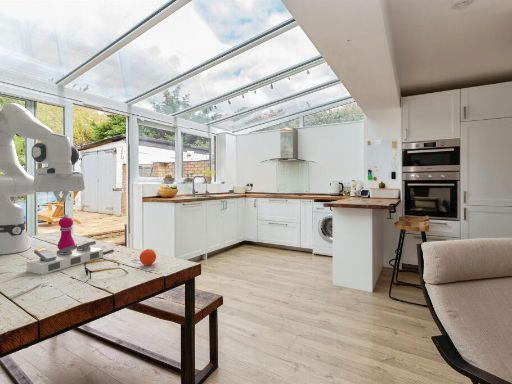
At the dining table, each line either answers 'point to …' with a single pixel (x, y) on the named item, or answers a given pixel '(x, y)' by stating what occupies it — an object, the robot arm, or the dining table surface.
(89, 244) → the rocker
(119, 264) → the eyeglasses
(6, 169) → the robot arm
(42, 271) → the power strip
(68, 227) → the pepper mill
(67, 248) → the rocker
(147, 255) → the clementine
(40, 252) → the block
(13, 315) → the dining table surface
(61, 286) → the dining table surface
